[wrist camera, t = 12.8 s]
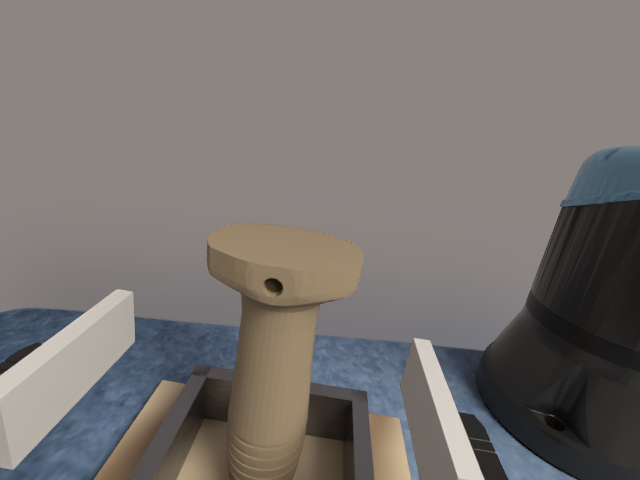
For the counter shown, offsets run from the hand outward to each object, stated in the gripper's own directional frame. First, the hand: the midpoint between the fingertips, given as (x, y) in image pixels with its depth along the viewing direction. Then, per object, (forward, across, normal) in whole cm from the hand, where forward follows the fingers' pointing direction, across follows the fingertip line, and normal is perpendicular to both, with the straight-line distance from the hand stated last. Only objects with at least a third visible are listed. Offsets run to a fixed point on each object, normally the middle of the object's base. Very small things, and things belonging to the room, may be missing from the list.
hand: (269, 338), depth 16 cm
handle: (0, 0, -10) cm, 10 cm away
